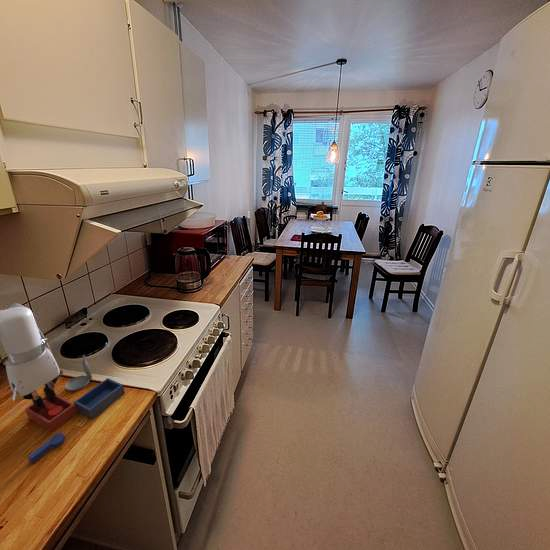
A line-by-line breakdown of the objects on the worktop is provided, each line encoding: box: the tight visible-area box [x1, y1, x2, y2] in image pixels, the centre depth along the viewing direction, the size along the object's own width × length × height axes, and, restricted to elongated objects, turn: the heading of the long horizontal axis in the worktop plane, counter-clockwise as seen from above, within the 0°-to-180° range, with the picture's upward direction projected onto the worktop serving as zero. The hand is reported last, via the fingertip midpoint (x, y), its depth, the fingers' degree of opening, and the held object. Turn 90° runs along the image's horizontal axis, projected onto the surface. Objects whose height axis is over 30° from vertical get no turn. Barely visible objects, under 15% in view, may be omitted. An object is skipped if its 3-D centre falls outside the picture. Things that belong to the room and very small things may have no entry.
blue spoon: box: [27, 432, 66, 465], centre depth 74 cm, size 8×3×2 cm, turn 156°
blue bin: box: [73, 377, 126, 420], centre depth 89 cm, size 11×7×4 cm, turn 156°
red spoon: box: [43, 400, 63, 418], centre depth 83 cm, size 8×3×2 cm, turn 66°
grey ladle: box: [64, 354, 93, 392], centre depth 94 cm, size 8×8×10 cm
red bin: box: [24, 393, 79, 433], centre depth 84 cm, size 11×7×4 cm, turn 66°
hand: (46, 402), depth 83 cm, fingers closed
